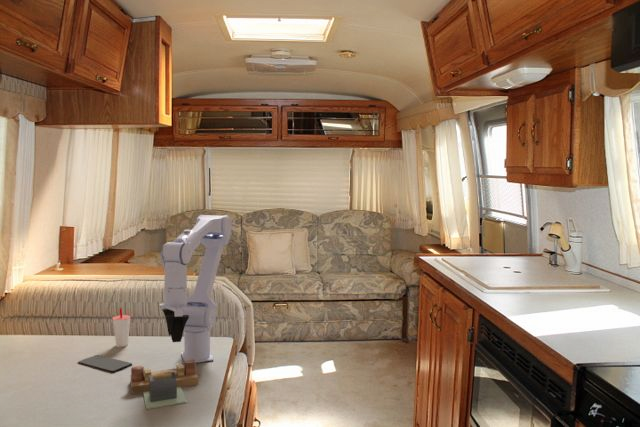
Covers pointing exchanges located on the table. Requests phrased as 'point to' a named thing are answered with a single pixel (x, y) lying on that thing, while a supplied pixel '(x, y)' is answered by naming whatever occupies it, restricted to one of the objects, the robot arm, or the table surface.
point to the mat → (178, 400)
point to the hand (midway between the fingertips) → (174, 338)
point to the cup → (121, 329)
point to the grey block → (162, 386)
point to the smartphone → (105, 363)
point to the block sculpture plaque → (183, 374)
